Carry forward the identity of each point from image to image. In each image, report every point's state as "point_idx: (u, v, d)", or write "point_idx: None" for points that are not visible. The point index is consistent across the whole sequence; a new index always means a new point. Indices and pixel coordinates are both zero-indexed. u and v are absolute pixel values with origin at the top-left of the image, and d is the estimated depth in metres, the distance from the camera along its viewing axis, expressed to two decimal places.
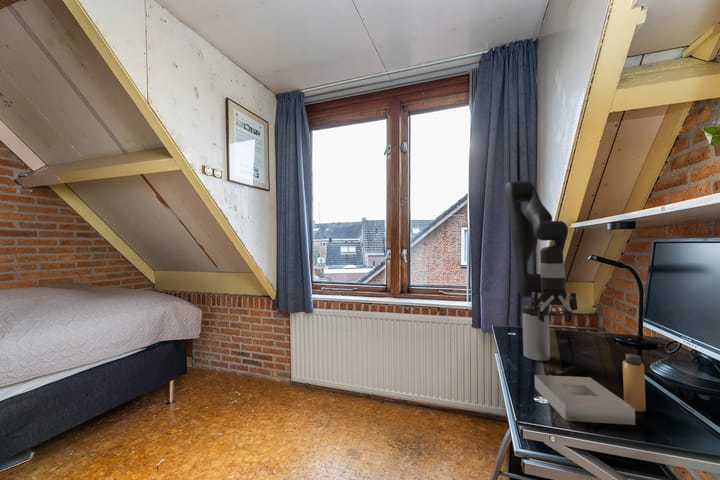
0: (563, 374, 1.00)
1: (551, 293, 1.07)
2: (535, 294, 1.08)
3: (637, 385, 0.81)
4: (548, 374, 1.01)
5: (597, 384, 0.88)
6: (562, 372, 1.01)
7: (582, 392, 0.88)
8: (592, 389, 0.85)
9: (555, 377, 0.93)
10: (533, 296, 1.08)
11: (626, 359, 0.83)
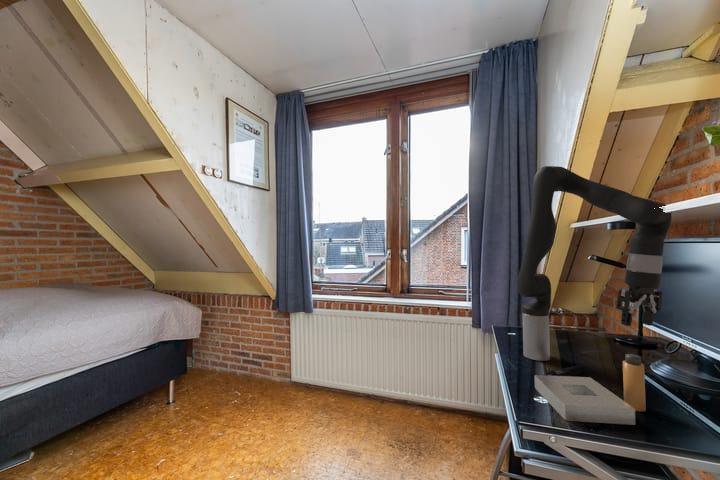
0: (563, 374, 1.00)
1: (642, 291, 0.86)
2: (628, 292, 0.85)
3: (637, 385, 0.81)
4: (548, 374, 1.01)
5: (597, 384, 0.88)
6: (562, 372, 1.01)
7: (582, 392, 0.88)
8: (592, 389, 0.85)
9: (555, 377, 0.93)
10: (624, 294, 0.86)
11: (626, 359, 0.83)
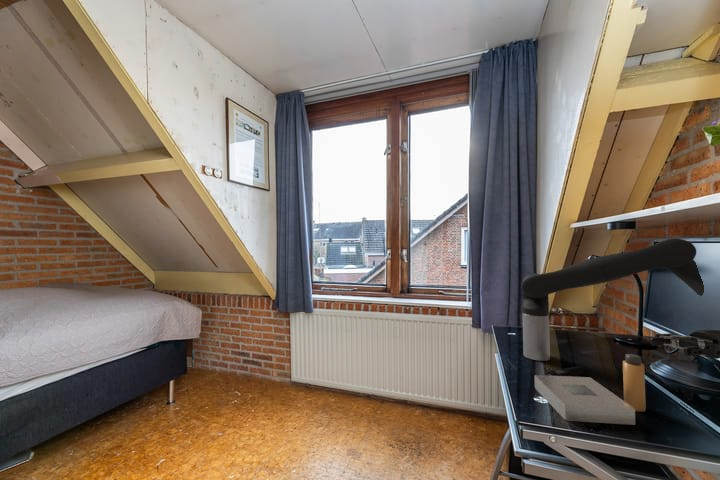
0: (563, 374, 1.00)
1: None
2: None
3: (637, 385, 0.81)
4: (548, 374, 1.01)
5: (597, 384, 0.88)
6: (563, 372, 1.01)
7: (582, 392, 0.88)
8: (592, 389, 0.85)
9: (555, 377, 0.93)
10: None
11: (626, 359, 0.83)
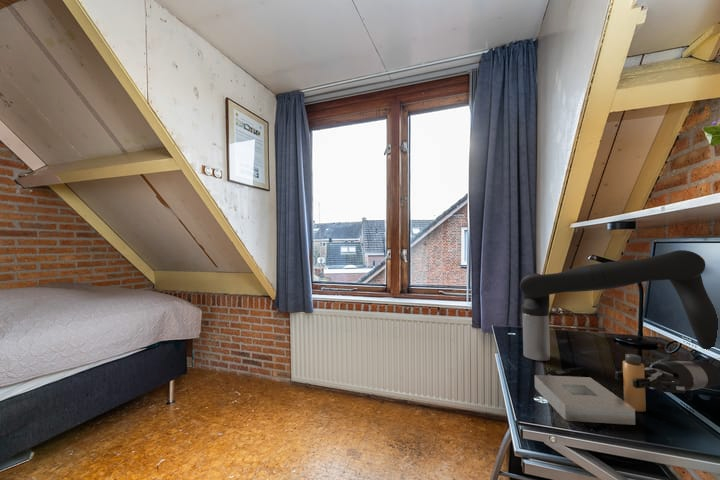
0: (564, 375, 1.00)
1: None
2: None
3: None
4: (548, 374, 1.01)
5: (597, 384, 0.88)
6: (563, 372, 1.01)
7: (582, 392, 0.88)
8: (592, 389, 0.85)
9: (555, 377, 0.93)
10: (679, 389, 0.77)
11: (626, 359, 0.83)
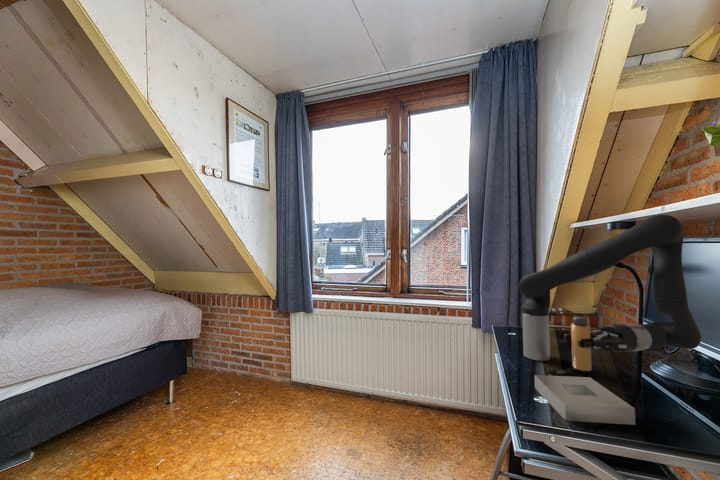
0: (564, 375, 1.00)
1: None
2: (624, 350, 0.80)
3: None
4: (548, 373, 1.01)
5: (597, 384, 0.88)
6: (564, 372, 1.01)
7: (582, 392, 0.88)
8: (592, 389, 0.85)
9: (555, 377, 0.93)
10: (621, 348, 0.79)
11: (574, 321, 0.85)
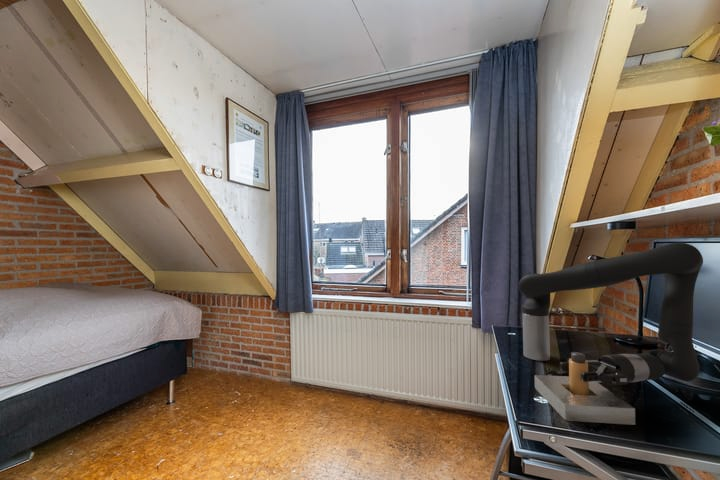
0: (564, 375, 1.00)
1: None
2: None
3: (581, 383, 0.83)
4: (549, 374, 1.01)
5: (597, 384, 0.88)
6: (564, 372, 1.01)
7: None
8: (592, 389, 0.85)
9: (555, 377, 0.93)
10: (622, 381, 0.79)
11: (571, 357, 0.85)
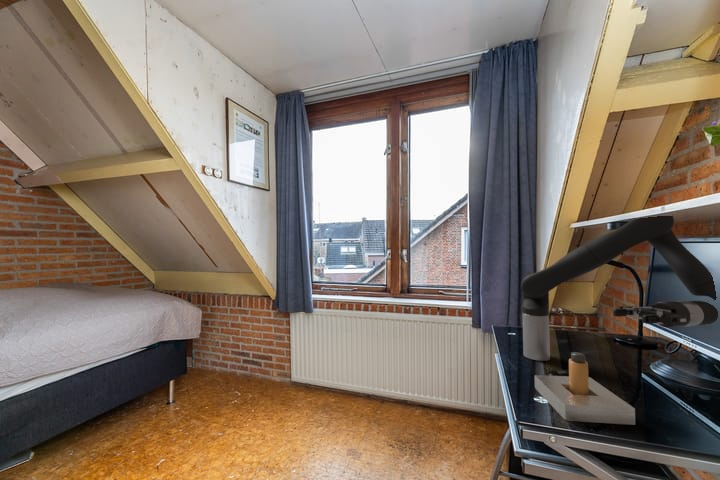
0: (565, 375, 1.00)
1: None
2: None
3: (581, 383, 0.83)
4: (549, 373, 1.01)
5: (597, 384, 0.88)
6: (565, 373, 1.01)
7: None
8: (592, 389, 0.85)
9: (555, 377, 0.93)
10: (683, 321, 0.82)
11: (571, 357, 0.85)
